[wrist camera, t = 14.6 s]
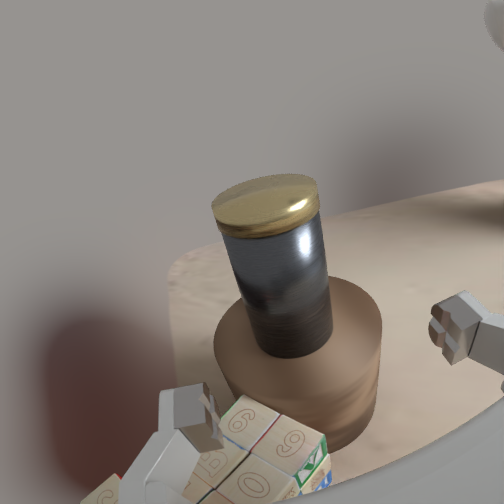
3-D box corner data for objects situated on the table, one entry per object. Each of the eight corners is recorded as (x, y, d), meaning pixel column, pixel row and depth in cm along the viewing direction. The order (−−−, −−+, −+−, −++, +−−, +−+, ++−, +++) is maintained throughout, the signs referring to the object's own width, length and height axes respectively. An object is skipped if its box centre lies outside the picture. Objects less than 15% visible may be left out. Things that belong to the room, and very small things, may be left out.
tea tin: (318, 293, 24) (297, 167, 20) (347, 342, 19) (333, 193, 15) (247, 315, 24) (208, 191, 19) (262, 370, 19) (215, 227, 14)
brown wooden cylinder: (346, 338, 32) (341, 259, 27) (397, 426, 22) (414, 353, 17) (238, 372, 32) (208, 300, 27) (259, 474, 21) (223, 419, 16)
